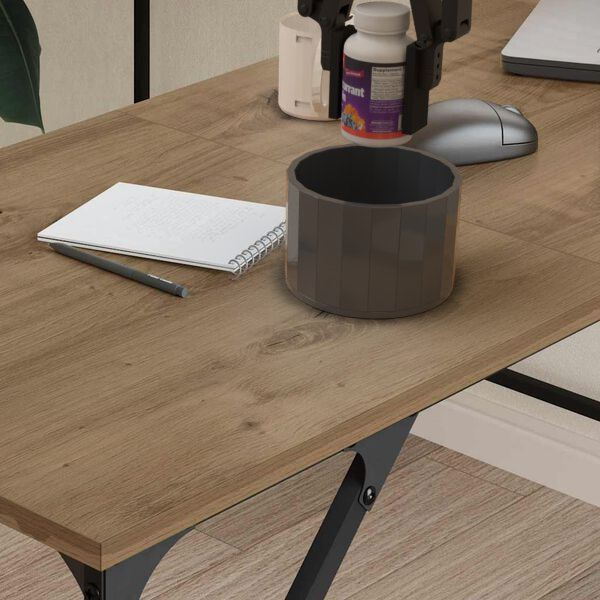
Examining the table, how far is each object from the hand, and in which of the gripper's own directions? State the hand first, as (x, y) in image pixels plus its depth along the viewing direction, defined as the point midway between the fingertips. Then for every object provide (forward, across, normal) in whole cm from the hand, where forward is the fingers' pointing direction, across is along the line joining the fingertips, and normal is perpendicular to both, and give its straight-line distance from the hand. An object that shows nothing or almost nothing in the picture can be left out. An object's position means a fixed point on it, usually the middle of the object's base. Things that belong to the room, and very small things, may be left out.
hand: (377, 120), depth 99 cm
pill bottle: (+1, 0, 0) cm, 1 cm away
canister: (+13, 0, 0) cm, 13 cm away
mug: (+13, +24, -33) cm, 43 cm away
